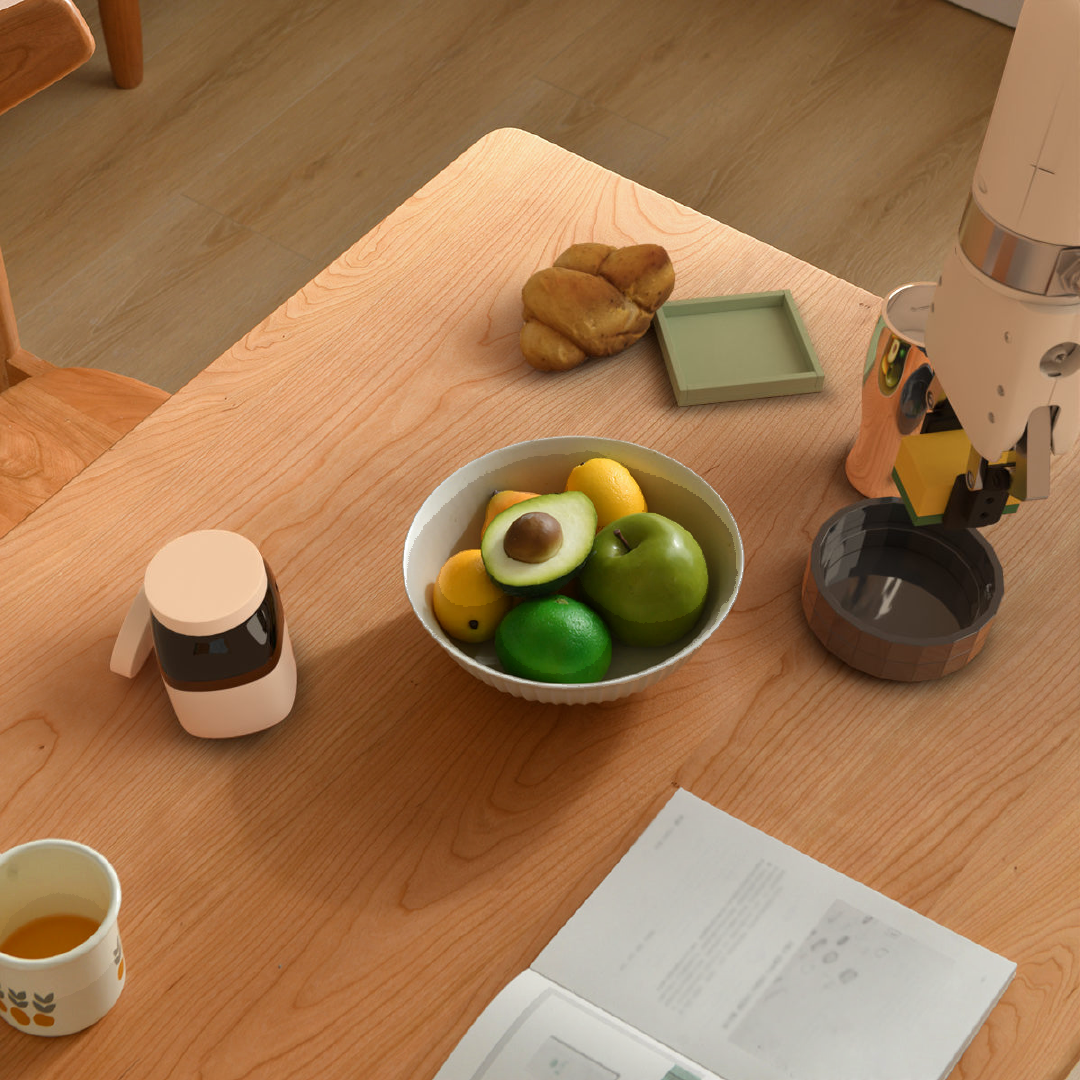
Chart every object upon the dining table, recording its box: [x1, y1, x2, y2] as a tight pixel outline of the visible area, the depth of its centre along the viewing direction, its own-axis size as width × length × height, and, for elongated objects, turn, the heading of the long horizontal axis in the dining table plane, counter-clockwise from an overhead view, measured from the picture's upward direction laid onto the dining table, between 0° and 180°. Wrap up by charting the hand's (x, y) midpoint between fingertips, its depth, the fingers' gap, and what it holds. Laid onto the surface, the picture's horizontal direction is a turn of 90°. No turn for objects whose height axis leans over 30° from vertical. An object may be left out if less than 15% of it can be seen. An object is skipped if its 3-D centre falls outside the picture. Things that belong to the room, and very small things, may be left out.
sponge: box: [891, 429, 1022, 526], centre depth 76 cm, size 6×4×3 cm, turn 99°
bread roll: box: [518, 242, 676, 373], centre depth 105 cm, size 13×10×8 cm
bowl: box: [801, 496, 1005, 683], centre depth 89 cm, size 12×12×4 cm
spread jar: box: [109, 528, 298, 740], centre depth 82 cm, size 12×11×12 cm
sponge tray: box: [651, 288, 826, 407], centre depth 106 cm, size 11×10×2 cm
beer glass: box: [844, 281, 938, 499], centre depth 92 cm, size 7×7×15 cm
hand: (954, 489), depth 77 cm, fingers closed on sponge, 4 cm apart
